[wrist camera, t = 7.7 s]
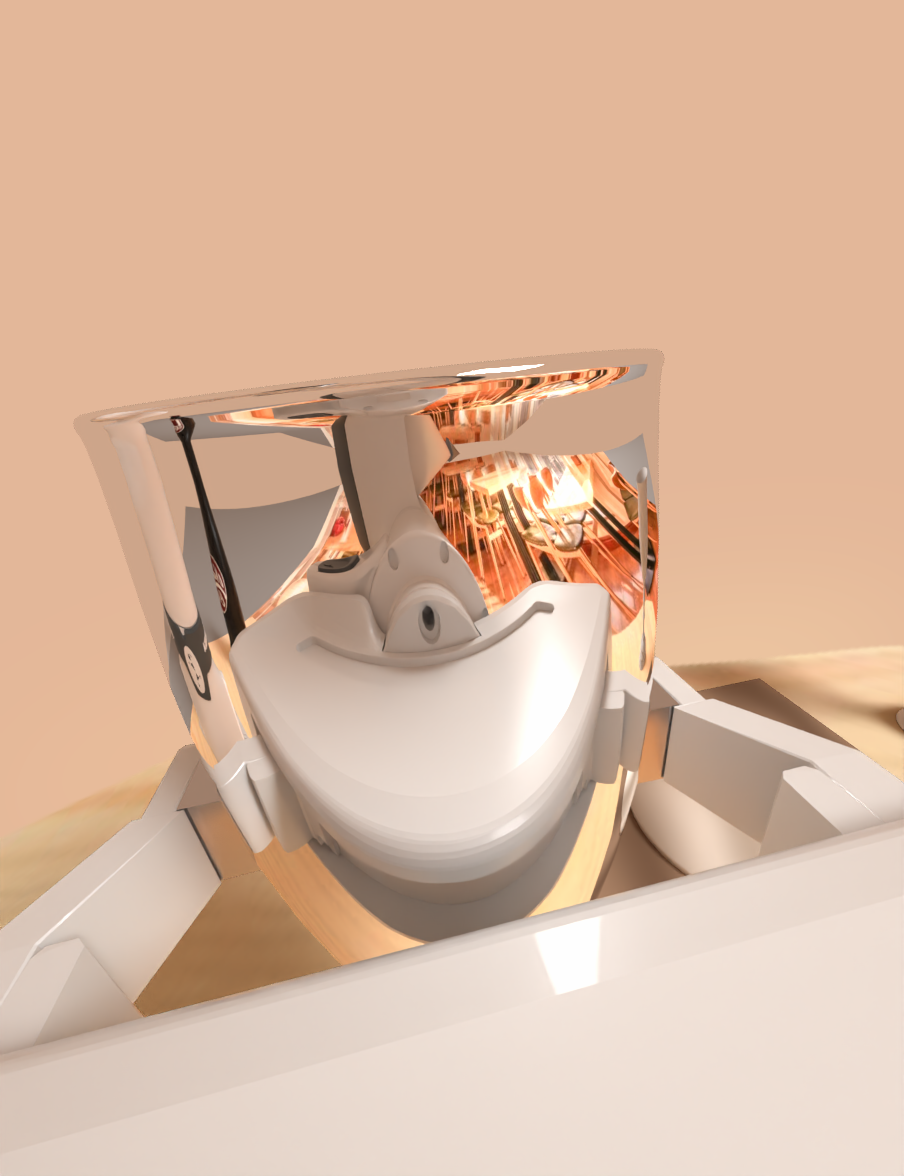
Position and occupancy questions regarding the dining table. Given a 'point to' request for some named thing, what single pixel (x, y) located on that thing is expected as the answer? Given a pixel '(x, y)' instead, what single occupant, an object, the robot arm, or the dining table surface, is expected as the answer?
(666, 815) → the walnut board
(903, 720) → the chalice
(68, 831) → the dining table surface
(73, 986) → the robot arm
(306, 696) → the beer glass
